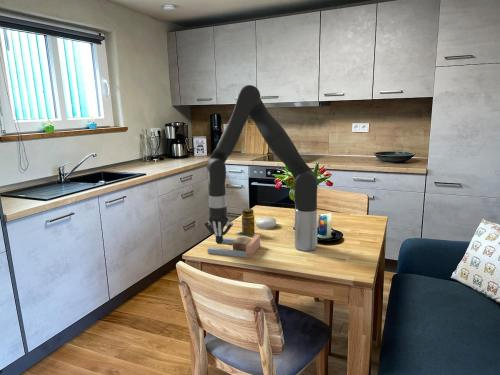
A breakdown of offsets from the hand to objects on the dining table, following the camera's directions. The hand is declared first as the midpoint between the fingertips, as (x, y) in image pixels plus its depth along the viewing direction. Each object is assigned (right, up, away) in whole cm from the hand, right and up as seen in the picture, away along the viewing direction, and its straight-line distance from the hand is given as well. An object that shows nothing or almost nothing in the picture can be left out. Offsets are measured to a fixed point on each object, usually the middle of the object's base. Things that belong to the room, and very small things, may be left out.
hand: (219, 243), depth 162 cm
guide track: (+7, -2, -1) cm, 7 cm away
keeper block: (+10, -2, -1) cm, 10 cm away
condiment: (+12, +2, +18) cm, 21 cm away
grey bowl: (+22, +5, +29) cm, 36 cm away
